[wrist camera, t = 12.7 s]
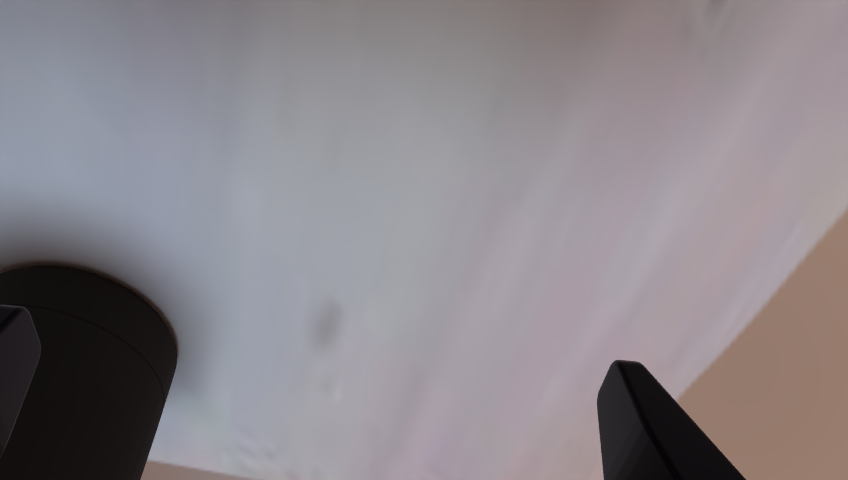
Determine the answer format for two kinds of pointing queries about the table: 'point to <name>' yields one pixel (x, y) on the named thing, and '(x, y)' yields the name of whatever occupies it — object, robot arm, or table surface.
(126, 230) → the table surface
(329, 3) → the table surface
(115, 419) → the pen holder
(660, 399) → the robot arm
